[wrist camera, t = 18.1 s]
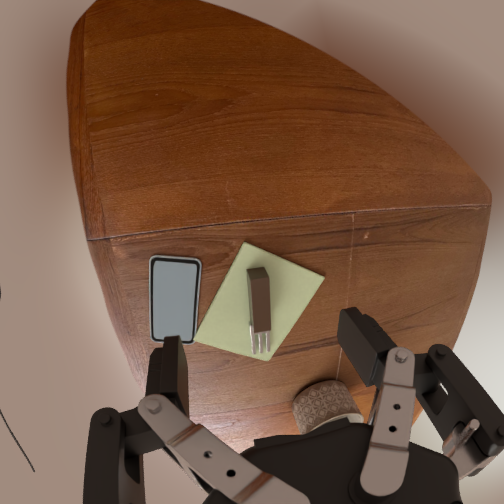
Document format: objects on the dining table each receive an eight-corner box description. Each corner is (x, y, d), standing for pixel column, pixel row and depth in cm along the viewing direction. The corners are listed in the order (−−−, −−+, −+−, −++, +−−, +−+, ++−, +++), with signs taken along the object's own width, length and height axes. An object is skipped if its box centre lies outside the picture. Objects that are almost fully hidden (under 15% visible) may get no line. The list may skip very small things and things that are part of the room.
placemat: (267, 359, 49) (268, 361, 49) (192, 338, 45) (192, 340, 44) (323, 276, 44) (324, 277, 44) (244, 241, 40) (244, 242, 39)
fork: (244, 269, 41) (247, 280, 38) (266, 266, 41) (271, 276, 38) (250, 351, 47) (254, 363, 44) (269, 347, 48) (274, 360, 45)
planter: (328, 412, 60) (344, 445, 51) (281, 413, 57) (293, 451, 48) (354, 376, 56) (374, 410, 47) (304, 375, 53) (322, 415, 43)
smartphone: (202, 259, 39) (195, 345, 45) (202, 256, 40) (195, 341, 45) (149, 255, 38) (150, 341, 43) (149, 252, 39) (150, 338, 44)
